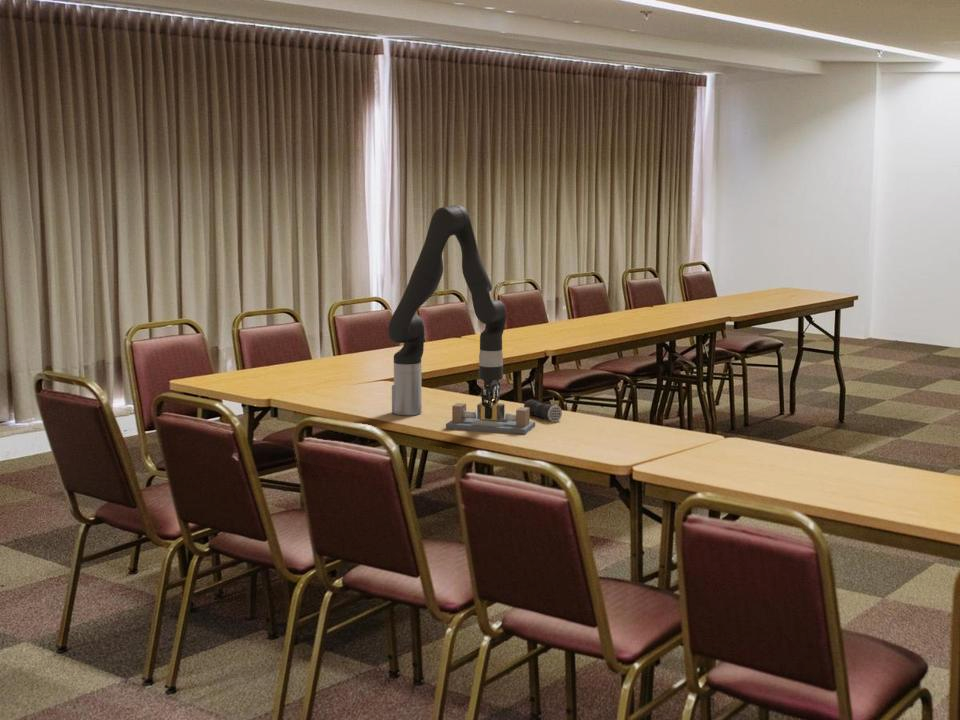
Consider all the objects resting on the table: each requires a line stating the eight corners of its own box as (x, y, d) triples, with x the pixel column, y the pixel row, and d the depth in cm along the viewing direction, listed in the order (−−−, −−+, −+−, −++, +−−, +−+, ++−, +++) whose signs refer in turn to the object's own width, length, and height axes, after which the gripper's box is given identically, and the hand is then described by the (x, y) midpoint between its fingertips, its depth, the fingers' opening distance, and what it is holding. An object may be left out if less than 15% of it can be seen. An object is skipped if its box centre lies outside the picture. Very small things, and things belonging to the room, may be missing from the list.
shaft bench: (445, 428, 364) (445, 407, 363) (457, 421, 375) (457, 400, 374) (525, 434, 356) (525, 412, 355) (535, 426, 368) (535, 405, 367)
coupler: (504, 417, 366) (504, 403, 366) (500, 420, 362) (500, 406, 361) (481, 416, 369) (481, 402, 368) (477, 418, 364) (477, 404, 364)
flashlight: (522, 414, 387) (522, 398, 386) (535, 413, 390) (535, 397, 389) (548, 422, 374) (548, 406, 373) (562, 421, 377) (562, 404, 376)
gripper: (495, 368, 355) (495, 422, 358) (508, 361, 368) (508, 413, 371) (472, 366, 357) (472, 421, 360) (486, 360, 371) (485, 412, 373)
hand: (490, 417), depth 365 cm, fingers closed on coupler, 4 cm apart
